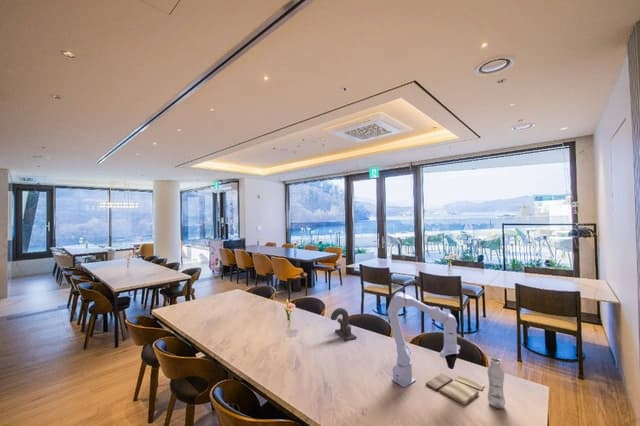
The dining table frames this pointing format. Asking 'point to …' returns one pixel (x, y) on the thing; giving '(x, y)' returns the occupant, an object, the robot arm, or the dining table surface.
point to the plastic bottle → (496, 384)
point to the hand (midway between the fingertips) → (450, 368)
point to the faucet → (343, 324)
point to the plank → (470, 383)
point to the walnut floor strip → (439, 382)
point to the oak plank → (459, 392)
